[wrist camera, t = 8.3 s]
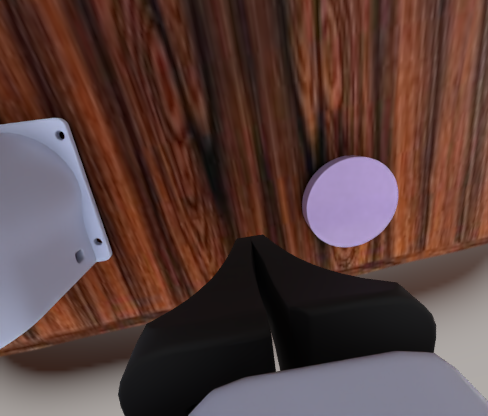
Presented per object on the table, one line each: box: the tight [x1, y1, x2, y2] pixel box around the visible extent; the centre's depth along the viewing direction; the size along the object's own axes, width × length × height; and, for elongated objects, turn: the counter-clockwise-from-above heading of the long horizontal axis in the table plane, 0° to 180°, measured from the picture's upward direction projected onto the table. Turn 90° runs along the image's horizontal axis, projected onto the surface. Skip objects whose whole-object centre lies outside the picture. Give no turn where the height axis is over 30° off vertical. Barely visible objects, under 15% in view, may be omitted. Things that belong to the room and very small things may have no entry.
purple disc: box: [302, 155, 398, 247], centre depth 17 cm, size 6×6×1 cm
